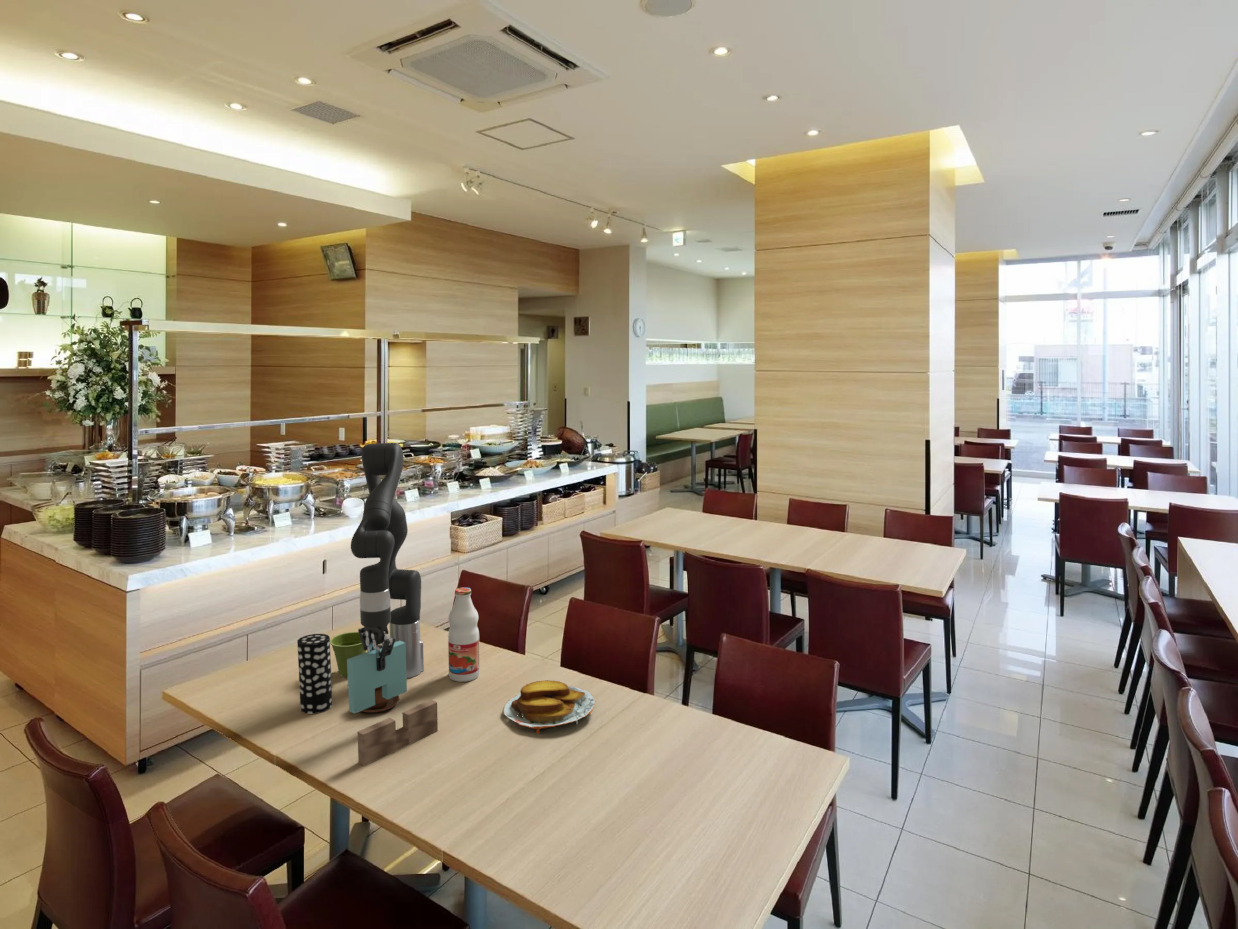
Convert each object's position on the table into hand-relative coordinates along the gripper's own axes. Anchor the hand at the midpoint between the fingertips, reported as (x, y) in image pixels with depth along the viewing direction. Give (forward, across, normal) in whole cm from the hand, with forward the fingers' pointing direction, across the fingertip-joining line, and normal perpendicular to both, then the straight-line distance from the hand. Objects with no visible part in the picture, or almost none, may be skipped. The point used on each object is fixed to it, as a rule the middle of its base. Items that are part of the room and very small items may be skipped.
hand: (377, 668), depth 191 cm
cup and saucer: (+17, +11, -7) cm, 22 cm away
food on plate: (+17, -29, -35) cm, 49 cm away
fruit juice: (+17, +8, -36) cm, 40 cm away
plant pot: (+17, +37, -15) cm, 43 cm away
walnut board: (+17, -12, +2) cm, 21 cm away
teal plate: (+9, 0, 0) cm, 9 cm away
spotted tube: (+17, +24, +4) cm, 30 cm away
